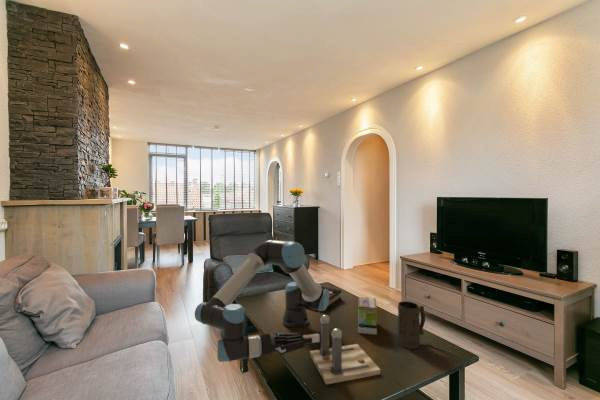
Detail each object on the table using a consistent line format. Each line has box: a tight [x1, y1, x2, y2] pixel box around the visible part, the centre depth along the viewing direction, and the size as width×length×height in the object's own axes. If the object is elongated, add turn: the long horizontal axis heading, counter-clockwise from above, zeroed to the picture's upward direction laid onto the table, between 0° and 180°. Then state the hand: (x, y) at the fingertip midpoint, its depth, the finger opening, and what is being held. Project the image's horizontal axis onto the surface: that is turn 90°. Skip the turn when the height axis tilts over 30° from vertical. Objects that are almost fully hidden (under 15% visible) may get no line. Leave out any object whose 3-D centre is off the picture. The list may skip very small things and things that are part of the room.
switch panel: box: [309, 343, 381, 385], centre depth 124 cm, size 21×24×2 cm
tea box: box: [357, 296, 378, 335], centre depth 158 cm, size 15×10×15 cm
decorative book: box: [320, 285, 342, 312], centre depth 196 cm, size 19×8×30 cm
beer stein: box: [396, 301, 426, 350], centre depth 142 cm, size 15×11×20 cm
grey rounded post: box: [330, 327, 343, 375], centre depth 116 cm, size 4×4×18 cm
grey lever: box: [318, 314, 331, 356], centre depth 129 cm, size 4×4×18 cm
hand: (318, 337), depth 113 cm, fingers closed
